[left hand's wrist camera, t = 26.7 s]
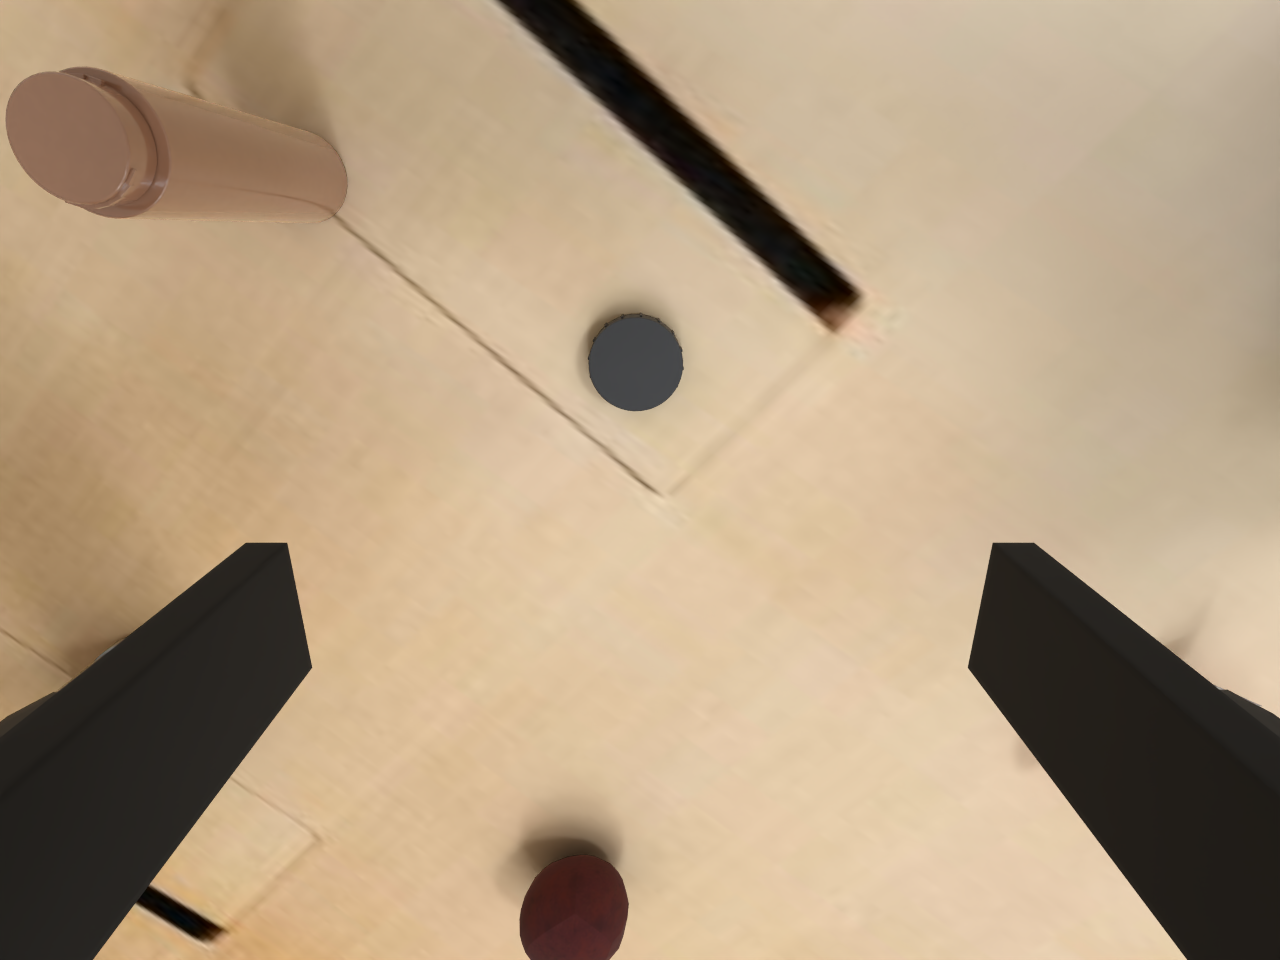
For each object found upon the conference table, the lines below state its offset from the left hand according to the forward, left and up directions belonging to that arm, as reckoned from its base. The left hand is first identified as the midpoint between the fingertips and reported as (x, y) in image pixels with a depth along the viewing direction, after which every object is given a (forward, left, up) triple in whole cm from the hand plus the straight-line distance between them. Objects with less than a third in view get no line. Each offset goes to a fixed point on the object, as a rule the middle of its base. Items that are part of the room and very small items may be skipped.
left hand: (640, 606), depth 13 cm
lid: (0, 0, -25) cm, 25 cm away
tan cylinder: (+15, -12, -26) cm, 33 cm away
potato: (+12, +36, -26) cm, 46 cm away
